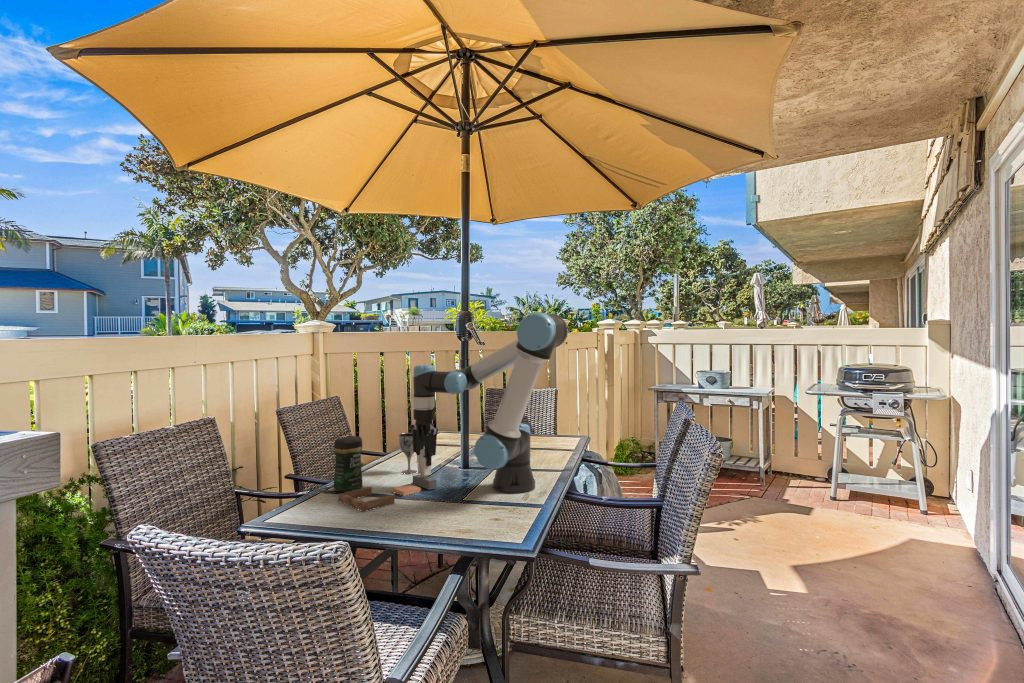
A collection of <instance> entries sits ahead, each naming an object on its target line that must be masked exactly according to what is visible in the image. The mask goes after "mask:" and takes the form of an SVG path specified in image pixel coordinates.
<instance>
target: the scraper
mask: <svg viewBox="0 0 1024 683" xmlns="http://www.w3.org/2000/svg"><path fill="white" fill-rule="evenodd" d="M423 456H425V450H424V449H421V450H420V474H413V475H412V485H414V486H417V487H420V488H423V489H427V490H428V491H431V490H434V489H437V479H435V478H432V477H429V475H425V476H424V475H423Z"/></svg>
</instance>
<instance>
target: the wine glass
mask: <svg viewBox="0 0 1024 683" xmlns="http://www.w3.org/2000/svg"><path fill="white" fill-rule="evenodd" d="M398 445H399V448H400V451H401V452H402V453H403V454H404V455H405V456H406V458H407V469H406V470H401V471H402V472H401V471H400V472H401V473H403V474H404V473H405V474H411V473H416V472H417V471H418V470H416V469H411V460H412V456H413V455H414V453H415V452H413V441H412V432H402V433H399V434H398ZM403 474H402V475H403ZM416 474H417V473H416Z"/></svg>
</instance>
